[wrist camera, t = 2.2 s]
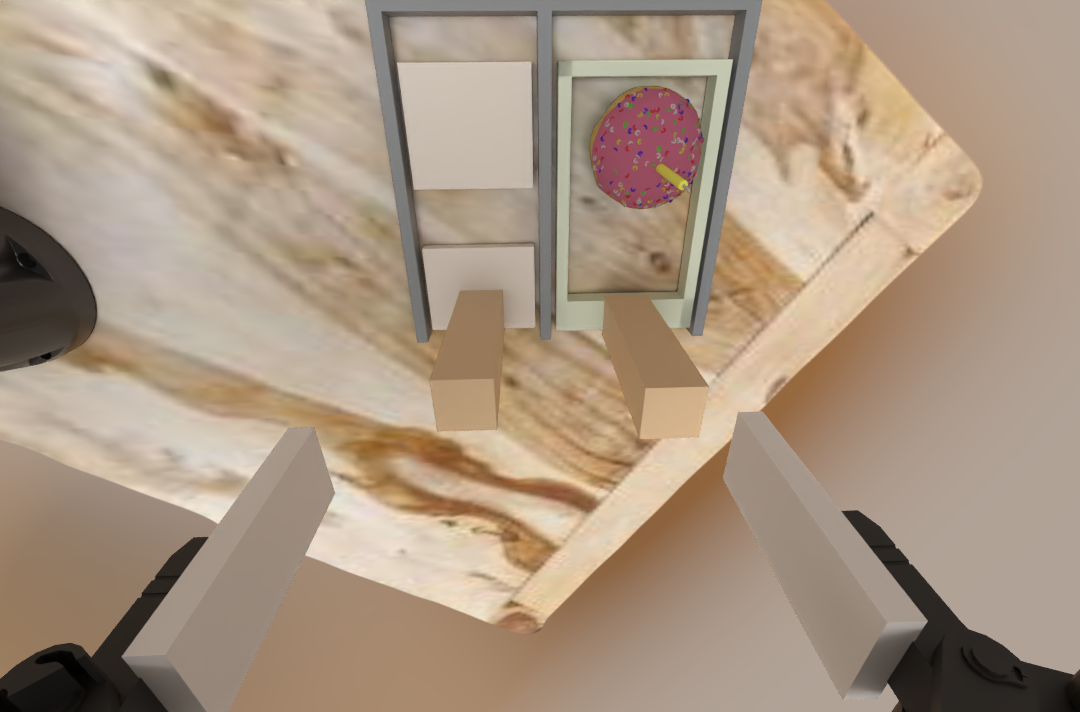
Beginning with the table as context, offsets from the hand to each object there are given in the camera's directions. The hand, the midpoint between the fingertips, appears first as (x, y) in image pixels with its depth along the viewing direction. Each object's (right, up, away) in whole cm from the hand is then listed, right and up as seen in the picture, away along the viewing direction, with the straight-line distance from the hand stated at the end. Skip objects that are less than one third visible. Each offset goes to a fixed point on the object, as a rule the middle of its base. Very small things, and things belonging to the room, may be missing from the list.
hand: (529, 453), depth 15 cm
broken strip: (-5, +16, +26) cm, 31 cm away
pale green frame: (+8, +16, +26) cm, 32 cm away
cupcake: (+8, +21, +24) cm, 33 cm away
